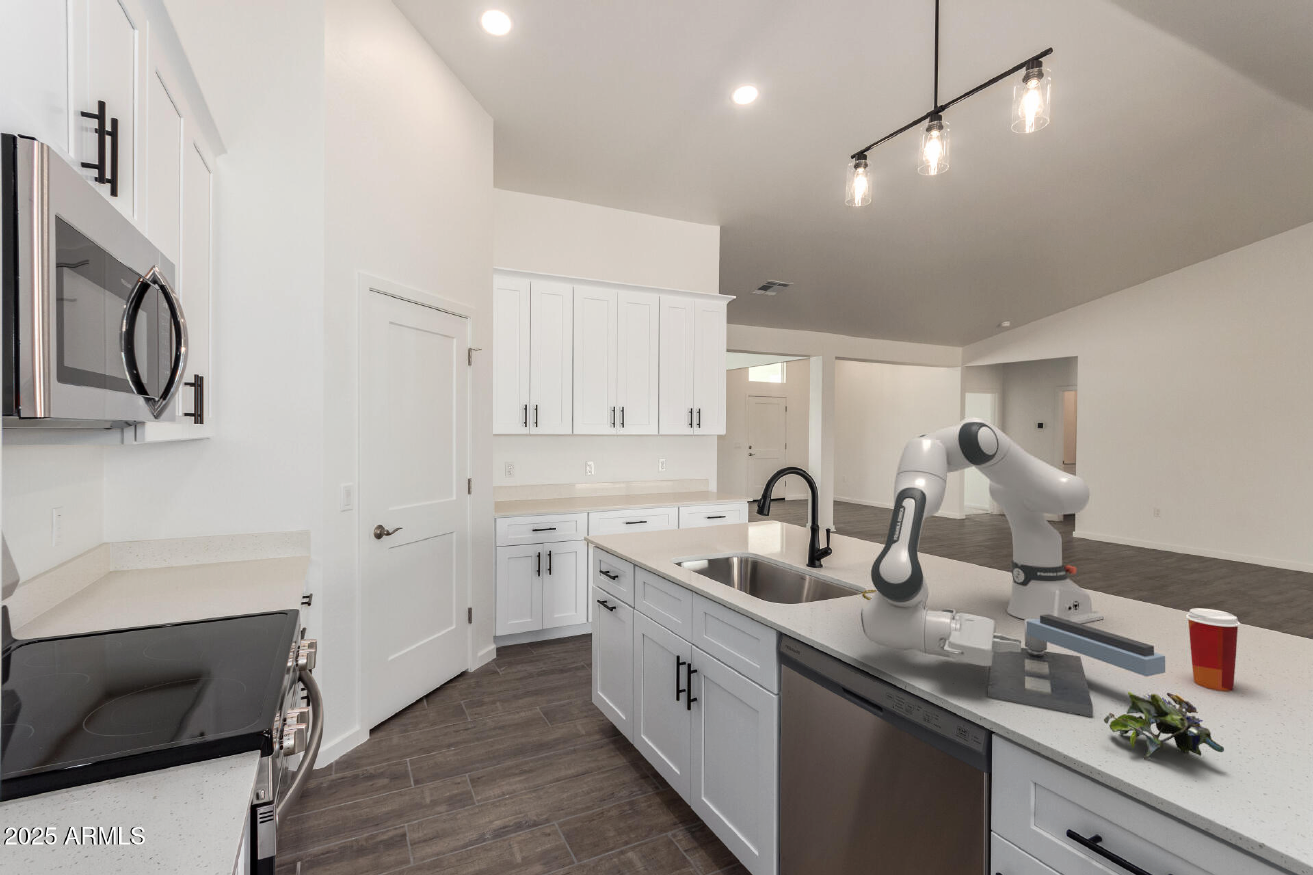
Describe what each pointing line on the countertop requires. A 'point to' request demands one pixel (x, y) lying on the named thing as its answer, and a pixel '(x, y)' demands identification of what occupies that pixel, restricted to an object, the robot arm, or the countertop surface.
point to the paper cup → (1213, 647)
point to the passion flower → (1163, 723)
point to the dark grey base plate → (1040, 680)
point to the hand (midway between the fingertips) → (1021, 645)
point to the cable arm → (1093, 644)
